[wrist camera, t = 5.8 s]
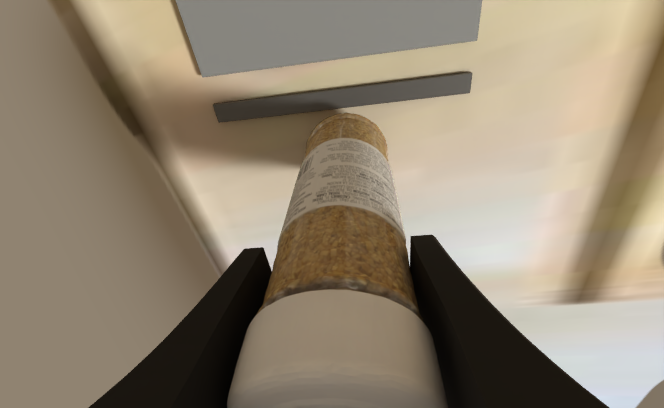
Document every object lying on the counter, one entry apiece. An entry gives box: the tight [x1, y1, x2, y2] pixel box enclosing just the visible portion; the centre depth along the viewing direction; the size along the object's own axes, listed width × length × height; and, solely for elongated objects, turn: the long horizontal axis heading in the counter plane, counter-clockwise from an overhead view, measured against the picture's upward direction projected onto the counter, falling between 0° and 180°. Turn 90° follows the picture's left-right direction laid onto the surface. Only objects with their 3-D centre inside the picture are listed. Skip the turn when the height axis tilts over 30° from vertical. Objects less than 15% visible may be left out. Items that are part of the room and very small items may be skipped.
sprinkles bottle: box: [227, 113, 448, 408], centre depth 12 cm, size 5×5×14 cm
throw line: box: [213, 72, 472, 122], centre depth 17 cm, size 1×14×1 cm, turn 97°
